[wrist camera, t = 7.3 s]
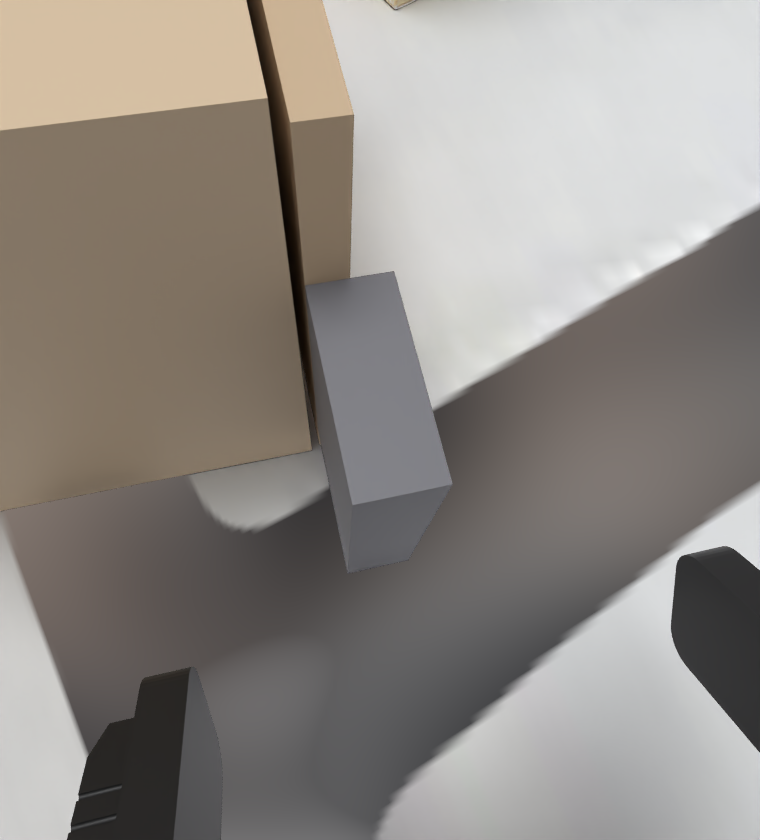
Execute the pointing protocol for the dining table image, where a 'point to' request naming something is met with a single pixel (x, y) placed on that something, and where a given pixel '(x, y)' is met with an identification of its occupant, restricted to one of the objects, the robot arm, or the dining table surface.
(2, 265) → the carton
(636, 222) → the dining table surface
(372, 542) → the carton flap
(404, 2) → the coffeecake box
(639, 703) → the dining table surface
